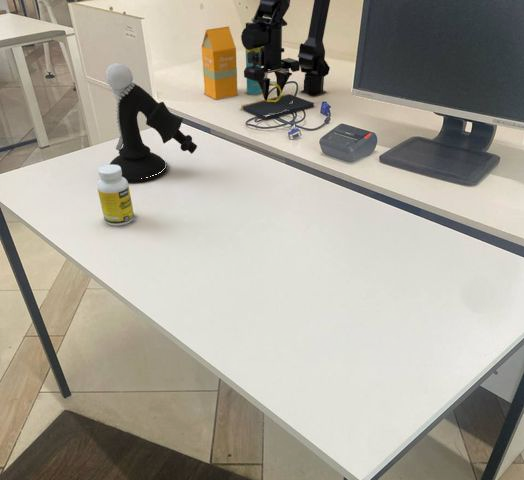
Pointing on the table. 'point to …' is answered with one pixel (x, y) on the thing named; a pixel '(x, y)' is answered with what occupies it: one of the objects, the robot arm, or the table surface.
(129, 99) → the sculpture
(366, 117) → the table surface
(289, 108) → the dark rectangular board
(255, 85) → the tube
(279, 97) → the watch
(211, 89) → the orange juice
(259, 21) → the robot arm
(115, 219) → the pill bottle
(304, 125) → the table surface
